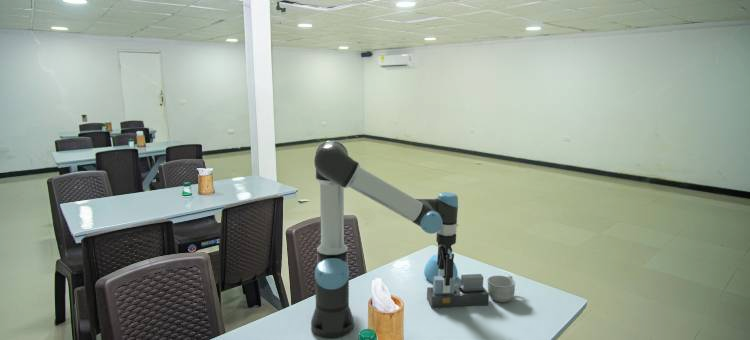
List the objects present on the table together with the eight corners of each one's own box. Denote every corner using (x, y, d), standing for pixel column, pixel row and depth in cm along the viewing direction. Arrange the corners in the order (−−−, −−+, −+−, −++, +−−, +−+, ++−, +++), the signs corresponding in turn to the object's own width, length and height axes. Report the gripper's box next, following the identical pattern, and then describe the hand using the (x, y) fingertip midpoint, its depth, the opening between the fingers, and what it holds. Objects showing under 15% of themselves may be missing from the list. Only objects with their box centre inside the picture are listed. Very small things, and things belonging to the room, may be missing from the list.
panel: (433, 303, 161) (435, 280, 159) (432, 299, 164) (433, 276, 162) (453, 302, 162) (455, 279, 160) (451, 298, 165) (453, 275, 163)
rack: (431, 309, 159) (432, 282, 157) (426, 298, 167) (427, 273, 164) (488, 306, 162) (490, 280, 160) (481, 296, 169) (482, 271, 167)
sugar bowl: (422, 270, 193) (423, 247, 191) (454, 271, 193) (455, 248, 191) (425, 285, 179) (426, 260, 176) (459, 286, 178) (461, 261, 176)
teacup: (501, 307, 160) (503, 289, 159) (480, 296, 169) (481, 278, 168) (524, 298, 168) (526, 280, 167) (503, 287, 177) (504, 270, 175)
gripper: (464, 241, 149) (460, 299, 154) (448, 224, 168) (446, 277, 172) (444, 241, 148) (441, 300, 153) (430, 225, 167) (428, 278, 171)
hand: (443, 288), depth 162 cm, fingers open, 6 cm apart
